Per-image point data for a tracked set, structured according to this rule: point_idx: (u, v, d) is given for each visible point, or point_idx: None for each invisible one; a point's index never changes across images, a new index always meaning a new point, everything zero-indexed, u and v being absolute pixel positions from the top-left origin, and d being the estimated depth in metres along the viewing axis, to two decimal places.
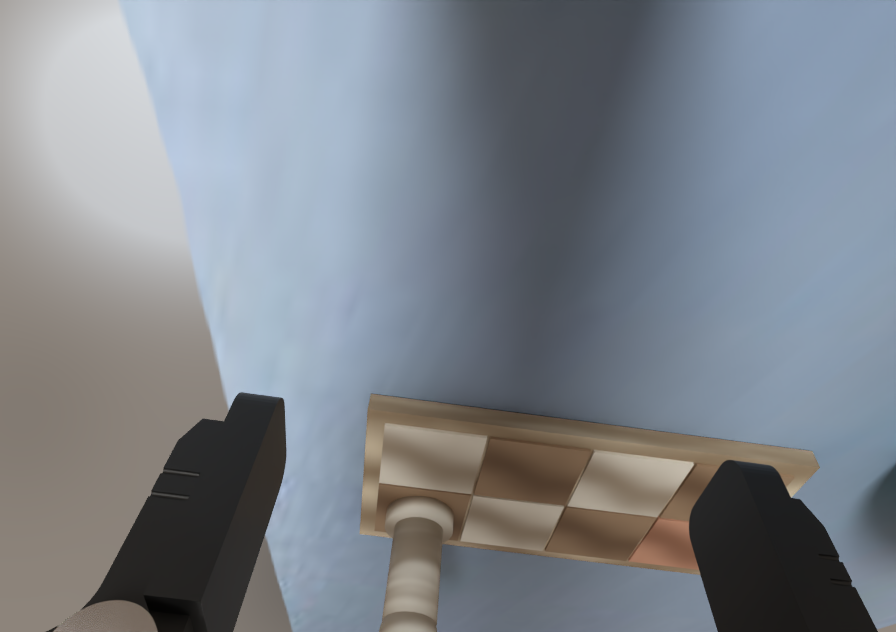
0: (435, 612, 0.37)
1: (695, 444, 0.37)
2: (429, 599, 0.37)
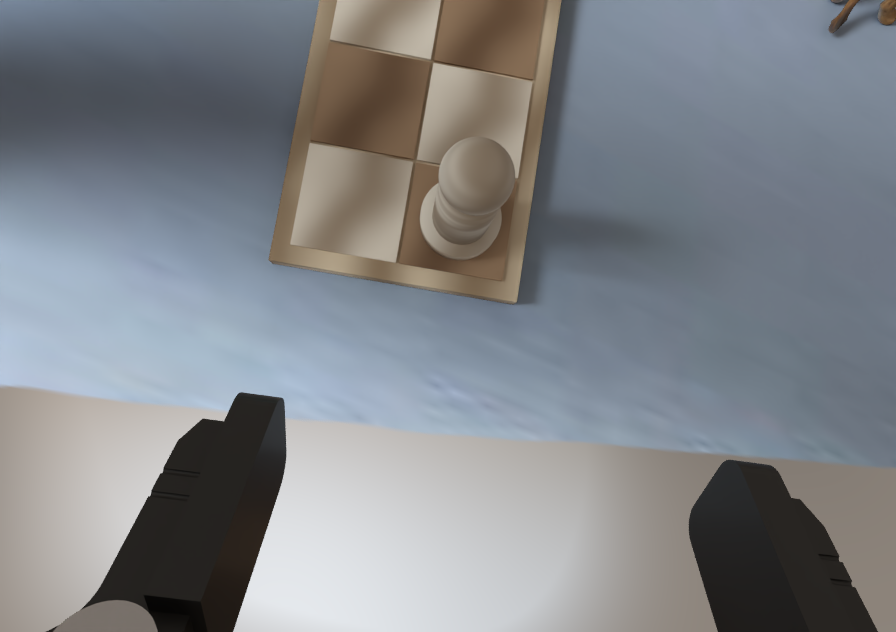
0: None
1: None
2: None
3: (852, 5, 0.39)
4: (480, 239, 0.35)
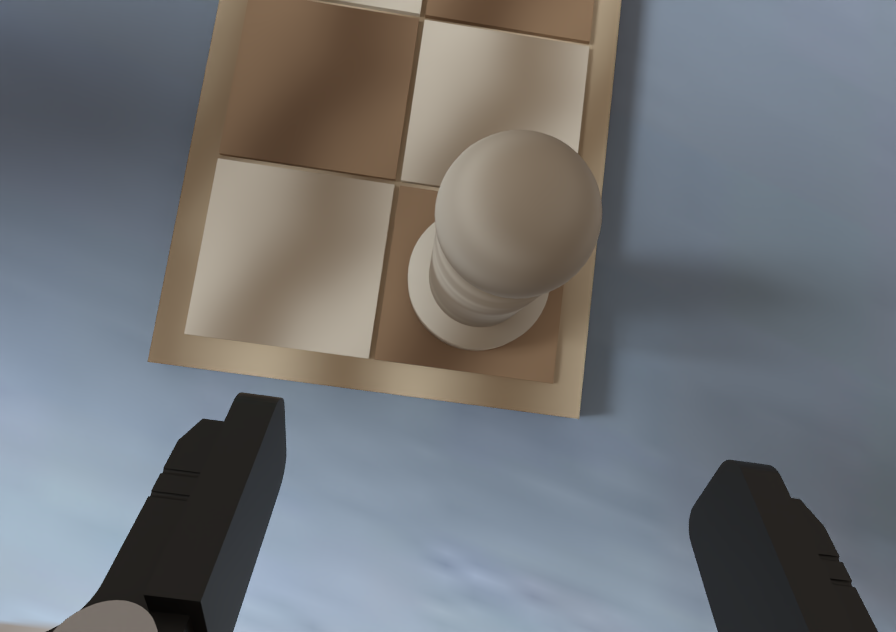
0: None
1: None
2: None
3: None
4: (514, 316, 0.20)
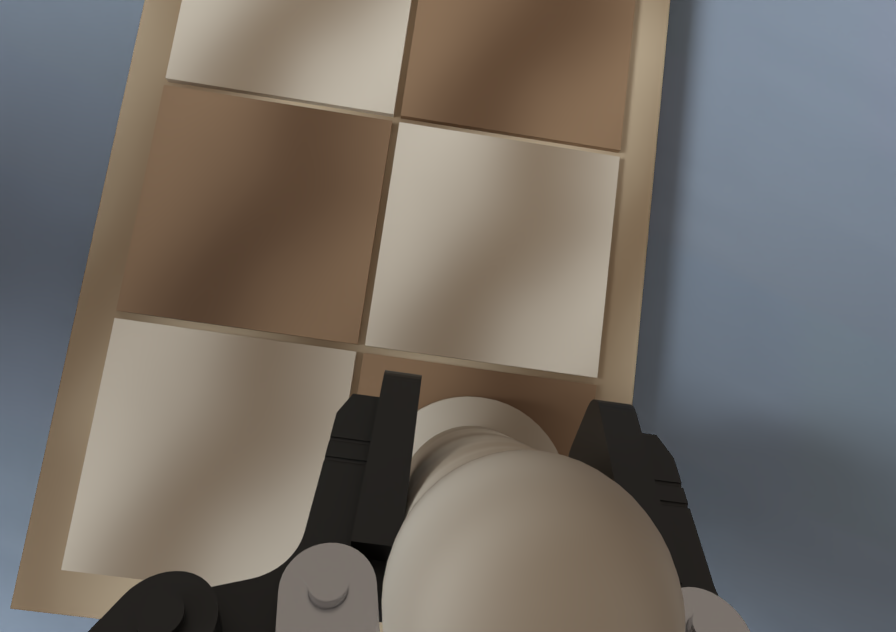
0: (472, 455, 0.09)
1: None
2: (426, 479, 0.09)
3: None
4: None
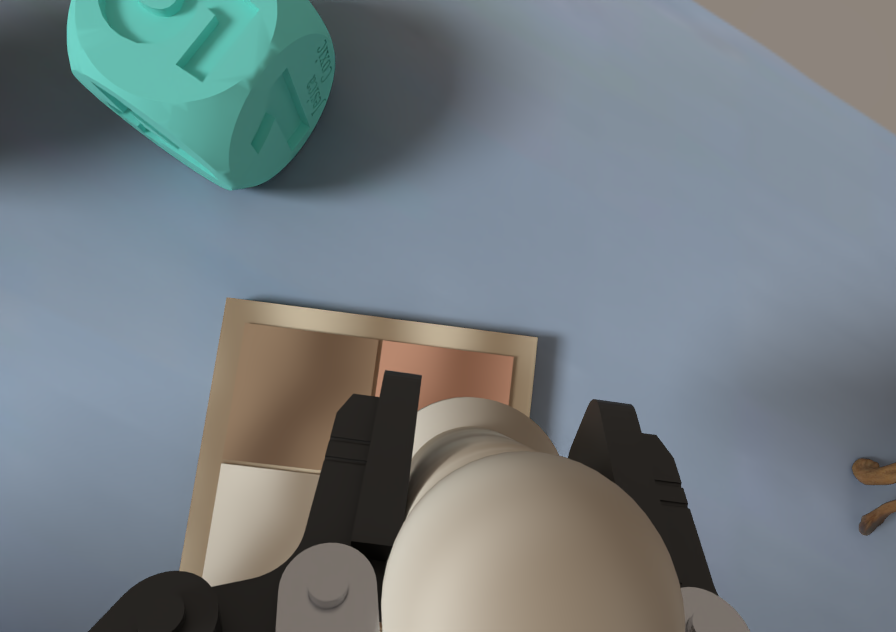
0: (472, 456, 0.09)
1: None
2: (426, 480, 0.09)
3: None
4: None
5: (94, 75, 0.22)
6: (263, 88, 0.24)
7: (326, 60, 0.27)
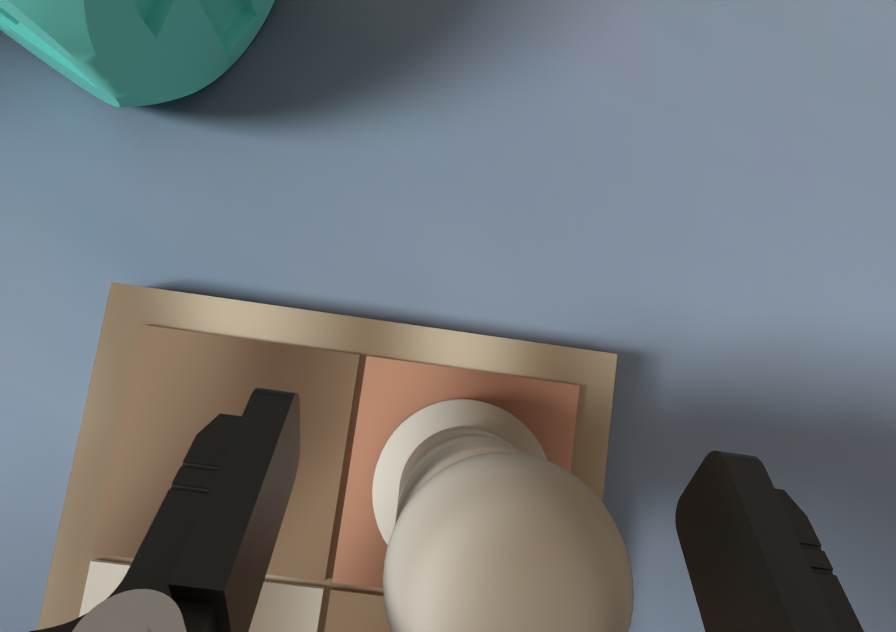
0: (462, 455, 0.10)
1: None
2: (422, 475, 0.11)
3: None
4: None
5: None
6: None
7: None
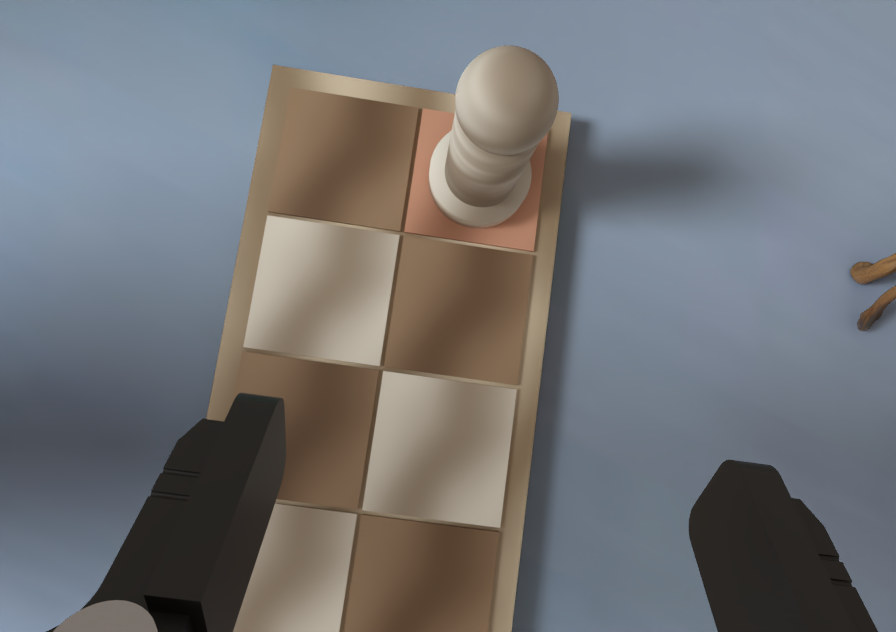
0: None
1: None
2: None
3: (888, 302, 0.29)
4: (504, 201, 0.28)
5: None
6: None
7: None
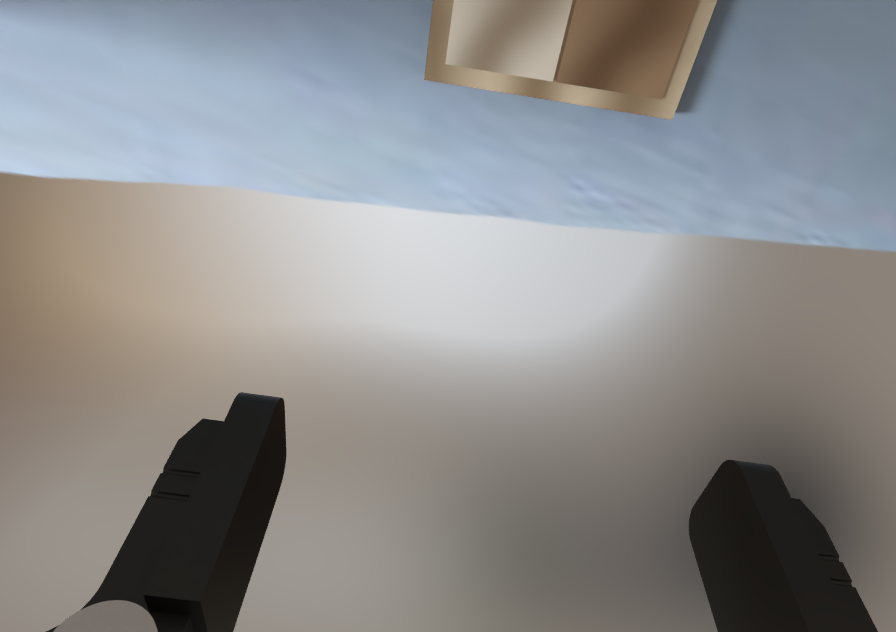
0: None
1: None
2: None
3: None
4: None
5: None
6: None
7: None
